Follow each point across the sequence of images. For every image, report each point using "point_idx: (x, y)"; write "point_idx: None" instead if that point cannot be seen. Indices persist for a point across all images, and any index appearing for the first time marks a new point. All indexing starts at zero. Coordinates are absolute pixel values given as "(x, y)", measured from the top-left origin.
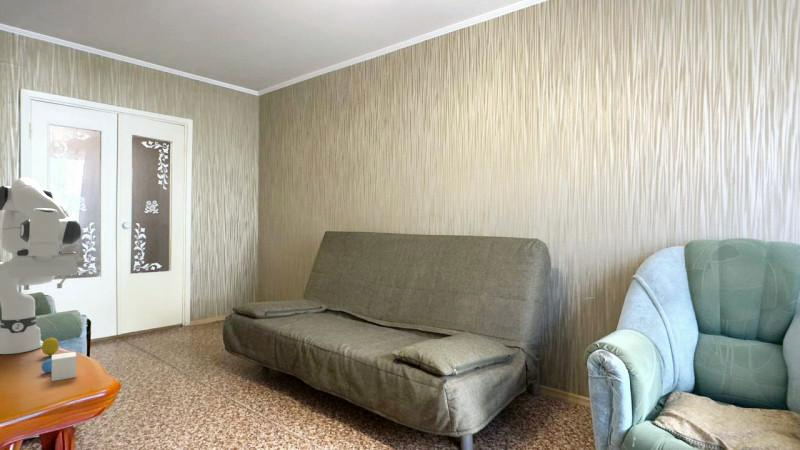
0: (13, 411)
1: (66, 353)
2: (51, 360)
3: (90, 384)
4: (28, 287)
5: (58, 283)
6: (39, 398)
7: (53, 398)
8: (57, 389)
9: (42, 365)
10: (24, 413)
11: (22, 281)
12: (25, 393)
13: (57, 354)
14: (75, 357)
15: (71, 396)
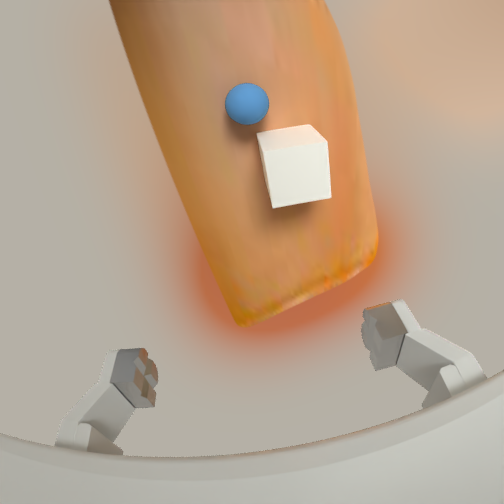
0: (238, 310)
1: (303, 152)
2: (254, 115)
3: (341, 235)
4: (152, 386)
5: (388, 355)
6: (263, 274)
7: (285, 282)
8: (286, 241)
9: (230, 116)
10: (255, 320)
11: (110, 439)
12: (230, 241)
13: (279, 153)
14: (328, 196)
15: (311, 282)
